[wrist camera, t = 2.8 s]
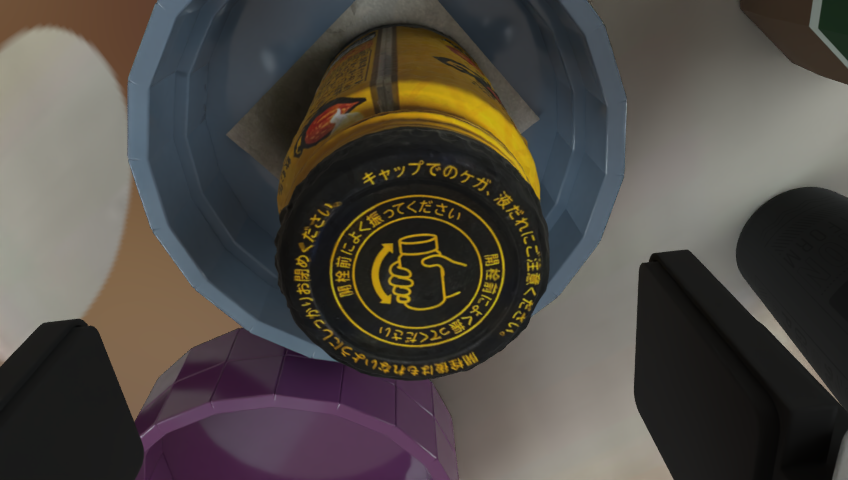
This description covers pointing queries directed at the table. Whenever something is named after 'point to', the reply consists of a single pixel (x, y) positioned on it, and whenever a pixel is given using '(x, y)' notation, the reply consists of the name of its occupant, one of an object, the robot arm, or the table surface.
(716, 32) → the table surface
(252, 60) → the slate bowl
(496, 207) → the condiment
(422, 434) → the plum bowl
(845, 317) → the drinking cup
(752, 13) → the beer bottle
